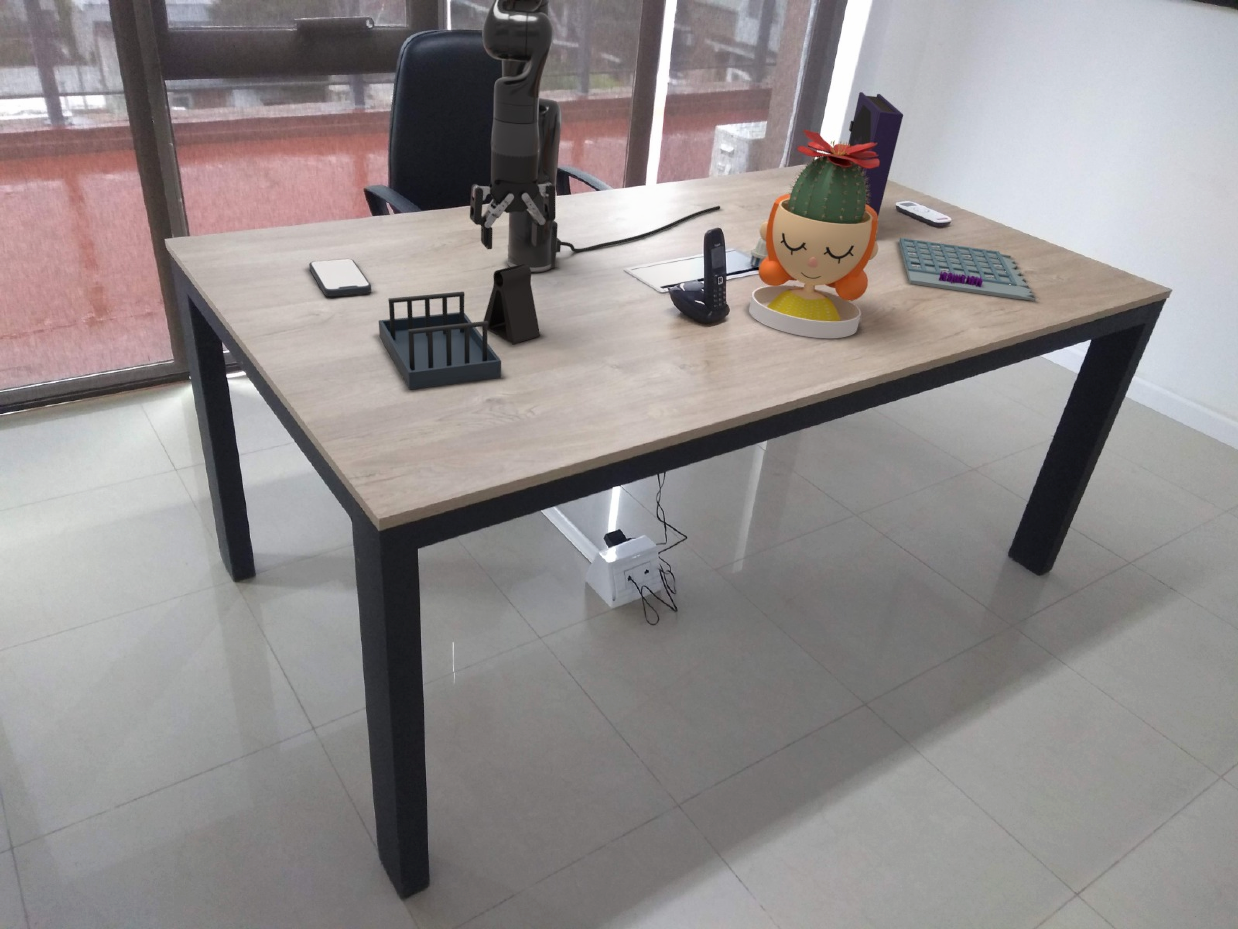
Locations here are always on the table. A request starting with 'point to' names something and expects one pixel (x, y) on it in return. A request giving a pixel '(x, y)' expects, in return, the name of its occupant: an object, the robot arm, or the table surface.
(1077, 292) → the table surface
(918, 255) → the calendar
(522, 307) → the phone stand
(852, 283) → the potted cactus
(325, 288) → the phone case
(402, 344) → the drying rack
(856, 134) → the book
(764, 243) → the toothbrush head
